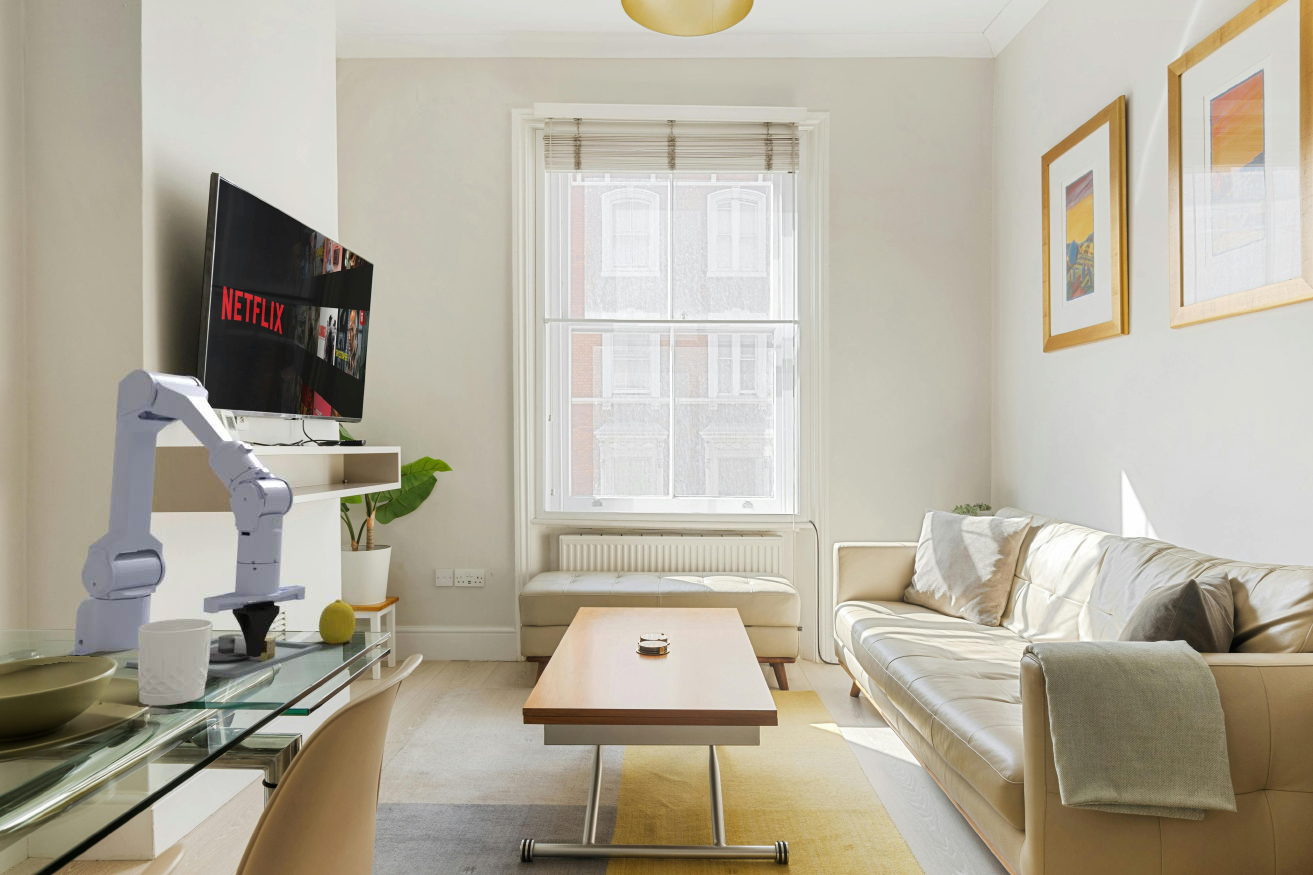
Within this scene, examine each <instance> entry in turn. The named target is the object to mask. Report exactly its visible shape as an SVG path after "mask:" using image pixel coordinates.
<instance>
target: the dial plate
mask: <svg viewBox="0 0 1313 875" xmlns="http://www.w3.org/2000/svg"><path fill="white" fill-rule="evenodd" d="M216 646H218V637H214V638H211V647H216ZM211 647H210V648H211ZM322 649H323V644H320V643H319V644H317V643H310V642H309V643H308V642H300V641H299V642H298V641H297V642H296V641H288V640H277V639H276V642H275V658H273V659H270V660H267V661H257V660H247V659H246V660H241V661H233V662H209V666H208V673H207V677H215V678H216V677H218V678H225V679H238V678H241V677H243V676H246V675H249V674H253V673H255V672H259V671H261V670H265V669H267V668H270V667H273V666H276V665H280V664H281V663H285V662H287V661H291V660H293V659H296V658H299V657H302V656H305V655H308V654H310V653H314V652H317V651H319V650H322ZM125 665H126V667H129V668H135V669H138V658H136V659H131V660H128V661H126V664H125Z"/></svg>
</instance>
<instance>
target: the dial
mask: <svg viewBox="0 0 1313 875" xmlns="http://www.w3.org/2000/svg"><path fill="white" fill-rule="evenodd" d="M217 638H218V646H216V647H211V648H210V657H209V662H233V661H241V660H246V659H247V660H257V661H267V660H270V659H273V658H275V642H276V640H277V639H276V638H275V637H266V638H265V641H264V644H263V647H262V653H261V656H260V657H252V656H247V653H246V643H245V639H244V636H243V634H239V633H230V634H224V635H223V634H222V635H219V636H218V637H217Z"/></svg>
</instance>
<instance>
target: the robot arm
mask: <svg viewBox="0 0 1313 875" xmlns="http://www.w3.org/2000/svg"><path fill="white" fill-rule="evenodd" d="M117 388H118V389H117V400H116V402H117V403H116V413H115V414H116V415H115V420H116V422H115V435H114V436H115V438H114V453H113V467H112V479H111V480H112V481H111V489H110V490H111V491H110V492H111V494H110V507H109V517H108V518H109V519H108V520H109V521H108V530H107V532H106V533H105V534H104V535H103V536H101V537H100V538H99V539H97V540H94V542H93V543H91V544H90V545H89V546H88V553H87V558H86V559H85V562H84V564H83V567H82V570H81V583H82V585H83V587H84V589H85V591H86V592H87V593H88V595H89V596H87V597H86V598H84V599H83V600H82V602H80V604H79V607H78V608H77V611H76V618H75V633H74V634H75V635H74V649H73V650H70V651H69V652H68V654H69V655H70V656H75V655H80V656H84V655H87V654H93V653H96V652H97V653H98V652H120V651H129V650H136V649H138V628H139V627H140V626H142V625H144V624H148V623H151V621H150V620H151V605H152V604H151V603H152V594H153V593H157V587H158V586H160V585H161V584H162V582H163V580H164V578H165V576H166V570H167V568H166V567H167V566H166V562H165V559H164V554H163V553H164V552H163V548H164V543H163V542H162V541H161V540H160V539H158V538H157V537H156V536H154V534H153V533H151V522H152V521H151V520H152V509H153V494H154V482H155V481H154V480H155V467H156V466H155V465H156V455H157V454H156V450H157V439H158V434H159V433H160V432H161V431H162V430H164V429H165V428H166V427H167V426H168V425H172V424H174V423H176V422H178V421H180V422H182V423H183V425H184V426H185V427H186V428H187V429H188V430H189V431H190V433H192V435H193V436H194V437H195V438H196V439H197V440H198V441H199V442H200V443H201V444H202V446H203V447H205V449H206V450H207V451H208V452H209V456H208V461H207V463H208V465H209V467H210V468H211V469H212V471H213V472H214V473H215V475H216V477H217V478H219V480H220V481H221V483H223V485H224V486H225V488H226V489H227V490H228V492H229V493H230V495H231V496H232V497H229V506H230V509H231V512H232V513H233V515H234V518H235V520H234V522H235V523H234V526H235V527H236V530H237V532H238V534H237V536H238V537H237V552H236V566H235V568H236V569H235V570H236V571H235V587H234V590H235V591H231V592H228V593H227V592H226V593H224V594H219V595H213V596H207V597H204V598H203V610H202V612H204V613H208V614H218V613H220V612H222V611H229V610H232V611H231V612H232V614H233V617H234V618H235V619H236V621H237V623H238V625H239V627H240V630H241V633H242V635H243V636H244V639H245V643H246V653H247V656H252V657H260V656H261V653H262V647H263V644H264V641H265V638H267V635H268V633H269V631H270V628H271V626H272V625H273V624H274V621H275V619H277V616H278V615H279V614H280V609H281V607H280V605H275V603H276V604H277V603H283V602H290V601H301V600H305V598H306V586H302V585H290V586H289V585H288V586H280V583H281V582H280V580H281V563H282V562H281V561H282V543H283V524H284V516H285V515H286V514H288V513H289V512H290V510H291V509H292V506H293V504H294V503H293V502H294V494H293V490H292V487H291V486H290V484H289V482H288V481H287V480H286V479H284V478H281V477H275V475H273V474H270V473H271V472H270V470H268V468H266V467H265V466H264V464H262V463H261V461H260V459H259V458H257V456H256V455H255V454H254V452H253V450H254V448H253V447H252V446H251V444H250V443H245V442H244V441H242V440H233V439H232V437H231V435H230V434H229V433H228V431H227V430H226V427H225V426H224V425H223V423H222V422H221V420H220V418H219V417H218V416H217V414H216V412H215V411H214V410H213V408H212V407H211V405H210V404H209V402H208V400H209V399H208V398H209V392H208V390H207V389H206V388H205V387H204V386H203V385H202V382H201V381H200V380H199V379H198V378H197V377H195V376H192V375H185V376H184V375H175V374H171V373H162V372H155V371H148V370H145V369H134V370H132V371H131V372H129V373H128V374H127V375H126V376H125V377H124V378H122V380H120V381H119V382H118V387H117Z"/></svg>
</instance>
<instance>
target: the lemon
mask: <svg viewBox="0 0 1313 875" xmlns="http://www.w3.org/2000/svg"><path fill="white" fill-rule="evenodd" d="M355 628H356V615H355V610H354V609H353V607H352V606H351V605H349V604H348V603H347V602H345V601H343V600H342V599H335V601H334V602H331V603H329V604H328V605H327V606H325V608H324V609H323V610H322V612H321V614H320V618H319V622H318V631H319V635H320V638H321V639H322V640H323V641H324V642H325V643H326V644H328V645H329V644H332V645H333V644H334V645H335V644H337V645H338V644H344V643H347V642H349V640H350V639H351V638H352V637H353V635H354V632H355V630H356V629H355Z"/></svg>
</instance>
